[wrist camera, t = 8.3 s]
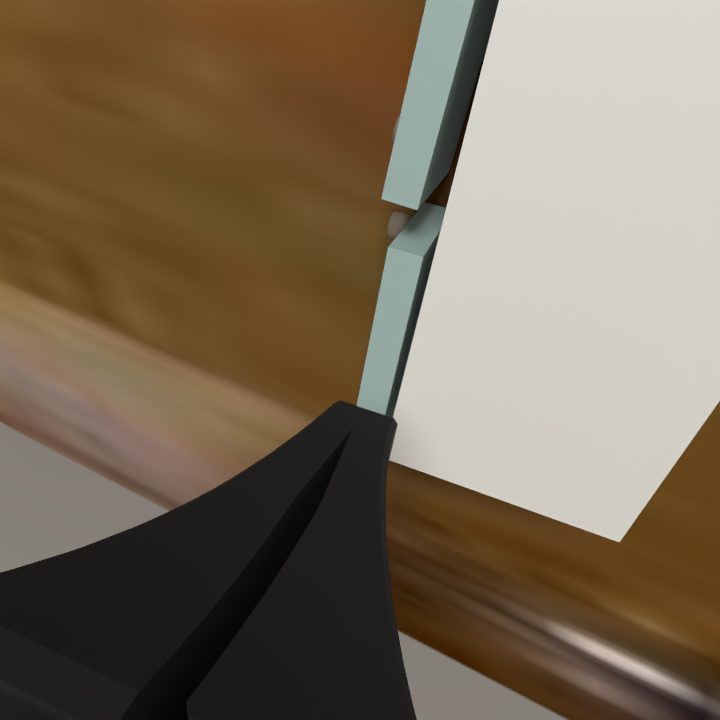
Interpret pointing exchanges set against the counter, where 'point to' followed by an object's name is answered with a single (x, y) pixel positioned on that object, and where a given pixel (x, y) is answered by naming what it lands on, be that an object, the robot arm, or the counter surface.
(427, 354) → the cabinet
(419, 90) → the door
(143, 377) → the counter surface
